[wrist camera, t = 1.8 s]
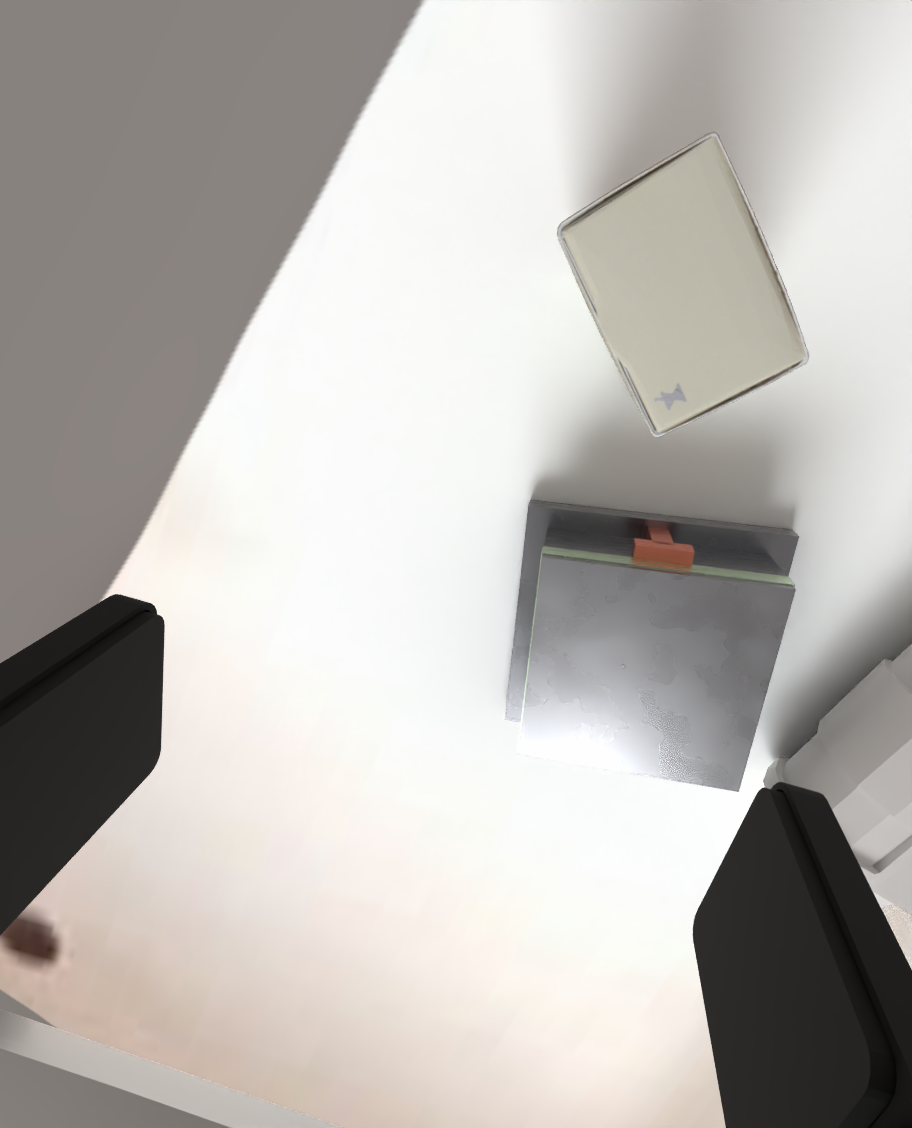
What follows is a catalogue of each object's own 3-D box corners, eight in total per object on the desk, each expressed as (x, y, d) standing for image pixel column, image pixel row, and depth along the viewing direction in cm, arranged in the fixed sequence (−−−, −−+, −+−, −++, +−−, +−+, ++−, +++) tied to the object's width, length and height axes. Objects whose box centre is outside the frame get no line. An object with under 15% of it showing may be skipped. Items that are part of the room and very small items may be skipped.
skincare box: (727, 349, 28) (823, 372, 16) (631, 399, 29) (658, 452, 18) (664, 202, 26) (722, 117, 15) (566, 263, 28) (550, 227, 16)
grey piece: (792, 529, 30) (829, 569, 25) (733, 746, 34) (756, 813, 29) (530, 500, 31) (520, 531, 27) (507, 709, 36) (495, 767, 31)
